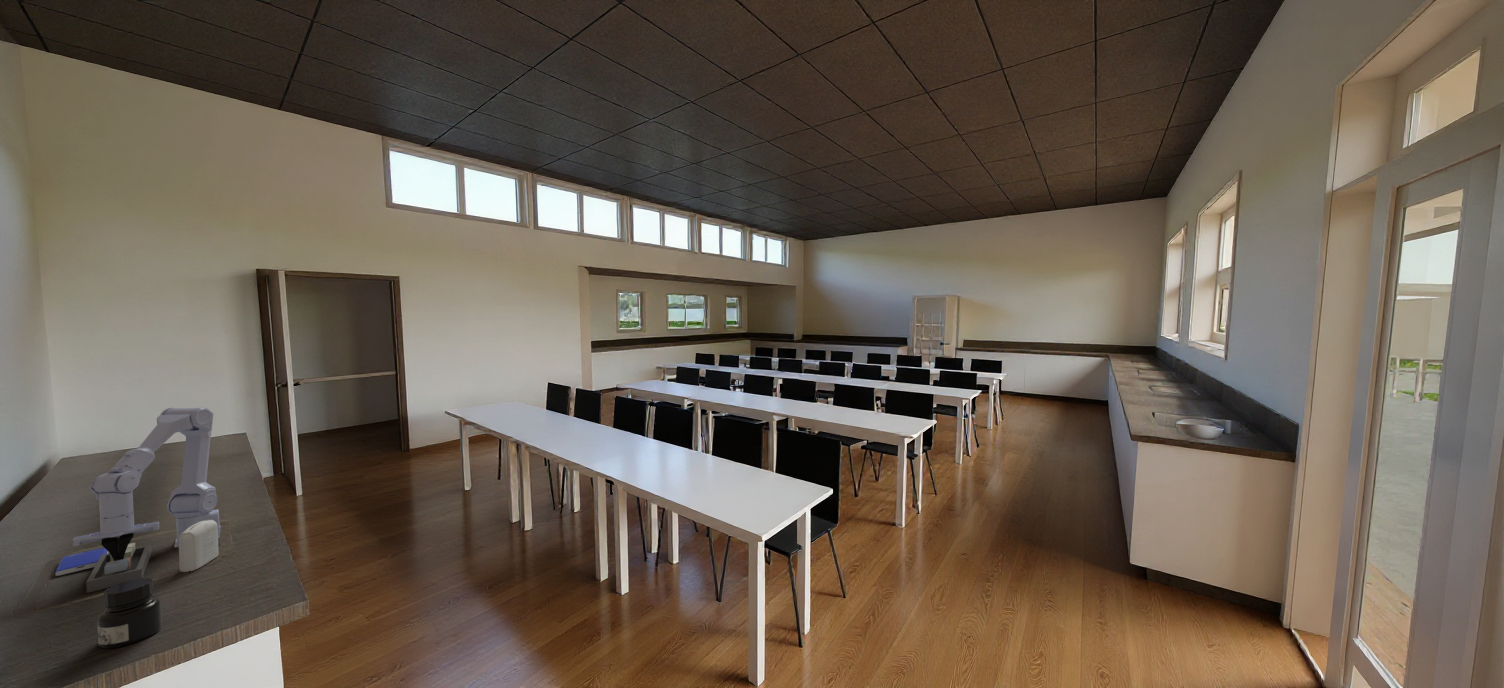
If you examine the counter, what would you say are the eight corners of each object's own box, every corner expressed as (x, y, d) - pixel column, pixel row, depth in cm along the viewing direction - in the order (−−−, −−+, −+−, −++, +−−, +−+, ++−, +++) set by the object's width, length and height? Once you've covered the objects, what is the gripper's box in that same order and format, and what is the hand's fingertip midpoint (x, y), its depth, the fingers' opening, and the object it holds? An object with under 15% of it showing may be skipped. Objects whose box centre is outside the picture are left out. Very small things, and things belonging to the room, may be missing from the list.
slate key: (128, 567, 134) (128, 558, 134) (126, 572, 131) (126, 562, 131) (107, 572, 131) (106, 562, 131) (104, 577, 129) (104, 567, 129)
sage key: (133, 556, 140) (132, 547, 140) (131, 560, 138) (131, 551, 138) (113, 560, 138) (112, 551, 137) (110, 565, 135) (110, 556, 135)
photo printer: (203, 557, 145) (201, 517, 145) (221, 555, 147) (220, 515, 146) (176, 574, 136) (174, 531, 135) (196, 571, 137) (194, 529, 136)
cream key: (135, 551, 143) (135, 542, 143) (133, 555, 141) (133, 546, 141) (115, 555, 141) (115, 546, 140) (113, 559, 138) (113, 550, 138)
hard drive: (62, 556, 141) (55, 571, 133) (108, 546, 147) (104, 559, 139) (62, 561, 141) (55, 576, 133) (109, 551, 147) (104, 564, 139)
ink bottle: (90, 643, 106) (87, 591, 106) (150, 620, 115) (148, 572, 114) (109, 654, 103) (107, 600, 102) (170, 630, 111) (168, 580, 111)
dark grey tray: (151, 554, 147) (150, 544, 146) (142, 579, 132) (141, 569, 132) (102, 565, 140) (101, 555, 140) (86, 592, 126) (86, 581, 126)
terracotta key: (131, 566, 137) (130, 557, 137) (129, 570, 135) (128, 561, 135) (110, 571, 134) (109, 561, 134) (108, 575, 132) (107, 566, 132)
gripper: (69, 526, 126) (71, 576, 126) (156, 511, 136) (158, 557, 137) (75, 519, 131) (77, 567, 131) (159, 504, 141) (161, 549, 142)
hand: (119, 561), depth 134 cm, fingers closed, pressing on terracotta key
